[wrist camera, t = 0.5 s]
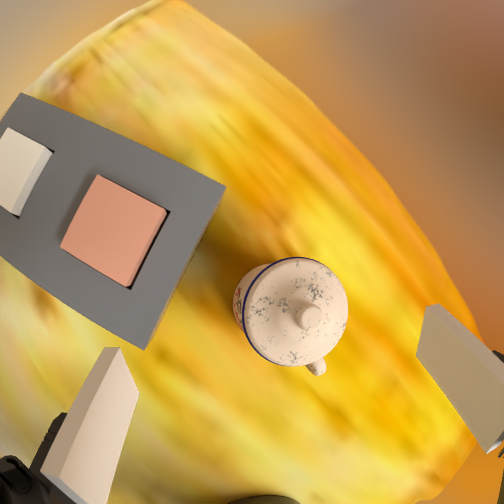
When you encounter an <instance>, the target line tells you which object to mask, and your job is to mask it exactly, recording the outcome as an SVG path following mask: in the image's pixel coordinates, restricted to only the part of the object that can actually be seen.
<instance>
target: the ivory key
mask: <svg viewBox="0 0 504 504" xmlns="http://www.w3.org/2000/svg"><path fill="white" fill-rule="evenodd" d="M52 155H53V153H52V152H50V151H49V150H48V149H47V148H46V147H45V146H43V145H41V144H39V143H37V142H35V141H33V140H31V139H29V138H27V137H26V136H24V135H22V134H20V133H18V132H16V131H14V130H12V129H10V128H7V129H6V131H5V132H4V134H3V136H2V137H1V139H0V205H1V206H2V207H3V208H5V209H6V210H7V211H9V212H10V213H12V214H15V215H18V216H21V214H22V211H23V209H24V207H25V205H26V203H27V201H28V199H29V197H30V195H31V193H32V191H33V189H34V187H35V185H36V183H37V181H38V180H39V178H40V176H41V174H42V172H43V171H44V169H45V167H46V165H47V164H48V162H49V160H50V159H51V157H52Z"/></svg>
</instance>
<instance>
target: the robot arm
mask: <svg viewBox="0 0 504 504" xmlns="http://www.w3.org/2000/svg"><path fill="white" fill-rule="evenodd" d="M416 357H417V358H418V359H419V361H420V362H421V363H422V365H423V366H424V367H425V368H426V370H427V371H428V372H429V374H430V375H431V376H432V378H433V379H434V380H435V382H436V383H437V384H438V386H439V387H440V388H441V390H442V391H443V392H444V394H445V395H446V397H447V398H448V399H449V401H450V402H451V403H452V405H453V406H454V408H455V409H456V410H457V412H458V413H459V415H460V416H461V418H462V419H463V420H464V422H465V423H466V425H467V426H468V428H469V429H470V431H471V432H472V434H473V435H474V437H475V438H476V439H477V441H478V442H479V444H480V446H481V447H482V449H483V450H484V452H485V453H486V454H487V453H489V452H490V451H492V450H493V449H495V448H496V447H497V446H499V445H500V444H501V443H502V441H503V440H504V355H502V354H501V353H499V352H497V351H495V350H494V351H492V352H491V351H490V350H489V349H488V348H487V347H486V346H485V345H484V344H483V343H482V342H481V341H480V340H479V339H478V338H477V337H476V336H475V335H474V334H472V333H471V332H470V331H469V330H468V329H467V328H466V327H465V326H464V325H463V324H462V323H460V322H459V321H458V320H457V319H456V318H455V317H454V316H453V315H451V314H450V313H449V312H448V311H447V310H446V309H445V308H443V307H442V306H441V305H440V304H435V305H431V306H427V307H426V309H425V314H424V320H423V325H422V330H421V335H420V340H419V344H418V348H417V353H416ZM139 395H140V393H139V391H138V389H137V387H136V385H135V382H134V380H133V378H132V376H131V373H130V371H129V369H128V366H127V364H126V362H125V359H124V357H123V354H122V352H121V349H120V347H104V349H103V351H102V353H101V354H100V356H99V358H98V359H97V361H96V363H95V365H94V366H93V368H92V370H91V372H90V373H89V375H88V377H87V379H86V380H85V382H84V384H83V386H82V388H81V390H80V391H79V393H78V395H77V397H76V399H75V401H74V403H73V404H72V406H71V408H70V410H69V412H68V413H63V412H62V413H61V414H60V415H59V416H58V417H57V418H56V419H54V420H53V422H52V424H51V426H50V428H49V430H48V433H46V435H45V437H44V441H42V443H41V445H40V447H39V449H38V451H37V453H36V455H35V457H34V459H33V462H32V464H31V466H30V468H29V469H28V468H27V467H26V466H25V465H24V464H23V463H22V462H21V460H19V459H18V458H17V457H16V456H12V455H9V456H4V457H3V458H1V459H0V504H107V500H108V496H109V493H110V489H111V485H112V482H113V478H114V475H115V471H116V468H117V464H118V461H119V457H120V454H121V451H122V447H123V444H124V441H125V438H126V434H127V431H128V428H129V425H130V422H131V419H132V416H133V413H134V410H135V407H136V404H137V401H138V398H139ZM503 453H504V448H503V449H502V450H501V452H500V453H499V455H498V457H501V456H502V455H503ZM503 458H504V457H503ZM229 504H300V503H298V502H297V501H295V500H293V499H290V498H286V497H282V496H255V497H249V498H244V499H241V500H237V501H234V502H231V503H229ZM497 504H504V471H503V477H502V483H501V488H500V493H499V498H498V502H497Z"/></svg>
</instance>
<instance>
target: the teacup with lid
mask: <svg viewBox="0 0 504 504" xmlns="http://www.w3.org/2000/svg"><path fill="white" fill-rule="evenodd" d="M233 312H234V316H235V319H236V321H237V323H238V325H239V326H240V328H241V329H242V330H243V332H244V333H245V335H246V337H247V339H248V341H249V343H250V344H251V346H252V347H253V348H254V350H255V351H256V352H257V353H258V354H259V355H261V356H262V357H263V358H265V359H266V360H268V361H270V362H272V363H275V364H278V365H282V366H302V365H305V366H306V367H307V368H308V370H309V371H310V372H311V373H312V374H314V375H316V376H319V375H321V374H323V373H324V372H325V371H326V363H325V361H324V358H323V356H325V355H326V354H327V353H329V352H330V351H331V350H332V349H333V348H334V346H335V345H336V344H337V342H338V341H339V339H340V338H341V336H342V334H343V331H344V329H345V326H346V322H347V316H348V303H347V297H346V293H345V290H344V288H343V286H342V284H341V282H340V280H339V279H338V278H337V276H336V275H335V274H334V273H333V272H332V271H331V270H330V269H329V268H328V267H326V266H325V265H324V264H322V263H320V262H318V261H316V260H313V259H310V258H305V257H290V258H285V259H281V260H279V261H276V262H274V263H270V264H264V265H261V266H258V267H256V268H254V269H252V270H251V271H249V272H248V273H247V274H246V275H245V276H244V277H243V278H242V279H241V281H240V282H239V284H238V286H237V288H236V290H235V293H234V297H233Z"/></svg>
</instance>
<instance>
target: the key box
mask: <svg viewBox="0 0 504 504" xmlns="http://www.w3.org/2000/svg"><path fill="white" fill-rule="evenodd" d="M7 128H10V129H12V130H14V131H16V132H18V133H20V134H22V135H24V136H26V137H27V138H29V139H31V140H33V141H35V142H37V143H39V144H41V145H43V146H45V147H46V148H47V149H48V150H49V151H50V152H52V153H53V155H52V157H51V159H50V160H49V162H48V164H47V165H46V167H45V169H44V171H43V172H42V174H41V176H40V178H39V180H38V181H37V183H36V185H35V187H34V189H33V191H32V193H31V195H30V197H29V199H28V201H27V203H26V205H25V207H24V209H23V211H22V214H21V216H18V215H15V214H12V213H10V212H9V211H7V210H6V209H5V208H3V207H2V206H1V205H0V256H1V257H3V258H4V259H5V260H6V261H7V262H9V263H10V264H11V265H12V266H14V267H15V268H16V269H17V270H19V271H20V272H21V273H23V274H24V275H25V276H27V277H28V278H29V279H31V280H32V281H33V282H35V283H36V284H37V285H39V286H40V287H42V288H43V289H44V290H46V291H47V292H49V293H50V294H51V295H53V296H54V297H56V298H57V299H59V300H60V301H62V302H63V303H65V304H66V305H68V306H69V307H71V308H72V309H74V310H75V311H77V312H78V313H80V314H82V315H83V316H85V317H86V318H88V319H90V320H91V321H93V322H95V323H96V324H98V325H100V326H101V327H103V328H105V329H106V330H108V331H110V332H111V333H113V334H115V335H117V336H118V337H120V338H122V339H124V340H126V341H127V342H129V343H131V344H133V345H135V346H137V347H139V348H140V349H142V350H145V348H146V347H147V345H148V344H149V342H150V341H151V339H152V338H153V337H154V334H155V332H156V330H157V328H158V326H159V324H160V322H161V319H162V317H163V315H164V313H165V311H166V309H167V307H168V305H169V303H170V301H171V299H172V297H173V294H174V292H175V290H176V288H177V286H178V284H179V282H180V280H181V278H182V276H183V274H184V272H185V270H186V268H187V266H188V264H189V262H190V260H191V258H192V256H193V254H194V253H195V251H196V249H197V247H198V245H199V243H200V241H201V239H202V237H203V235H204V233H205V231H206V229H207V228H208V226H209V224H210V222H211V220H212V218H213V216H214V214H215V213H216V211H217V209H218V207H219V205H220V203H221V201H222V198H223V195H224V192H225V189H226V186H224V185H222V184H220V183H218V182H216V181H214V180H212V179H210V178H208V177H206V176H205V175H203V174H201V173H199V172H197V171H195V170H193V169H191V168H189V167H187V166H185V165H183V164H181V163H178V162H176V161H174V160H172V159H170V158H168V157H166V156H164V155H162V154H160V153H158V152H156V151H154V150H152V149H150V148H147V147H145V146H143V145H141V144H139V143H137V142H135V141H133V140H130V139H128V138H126V137H124V136H122V135H120V134H117V133H115V132H113V131H111V130H109V129H106V128H104V127H102V126H100V125H97V124H95V123H93V122H91V121H88V120H86V119H84V118H81V117H79V116H77V115H74V114H72V113H70V112H67V111H65V110H63V109H60V108H58V107H55V106H53V105H51V104H48V103H46V102H43V101H41V100H38V99H36V98H33V97H31V96H28V95H26V94H23V93H20V94H19V96H18V97H17V98H16V100H15V101H14V103H13V104H12V105H11V107H10V108H9V110H8V111H7V113H6V114H5V116H4V117H3V119H2V120H1V122H0V139H1V137H2V136H3V134H4V132H5V131H6V129H7ZM97 174H98V175H100V176H102V177H104V178H106V179H108V180H110V181H111V182H113V183H115V184H117V185H119V186H121V187H123V188H125V189H127V190H129V191H131V192H133V193H134V194H136V195H138V196H140V197H142V198H144V199H146V200H148V201H150V202H152V203H154V204H156V205H158V206H159V207H161V208H163V209H165V211H166V213H167V215H168V218H167V220H166V222H165V224H164V226H163V227H162V229H161V231H160V233H159V235H158V237H157V239H156V241H155V243H154V245H153V247H152V248H151V250H150V252H149V254H148V256H147V258H146V260H145V262H144V264H143V266H142V268H141V271H140V273H139V275H138V277H137V279H136V281H135V283H134V285H132V286H126V287H125V286H123V285H122V284H120V283H118V282H116V281H115V280H113V279H111V278H109V277H108V276H106V275H104V274H103V273H101V272H99V271H98V270H96V269H94V268H93V267H91V266H89V265H88V264H86V263H84V262H83V261H81V260H80V259H78V258H76V257H75V256H73V255H72V254H70V253H69V252H67V251H65V250H64V249H62V248H61V247H60V245H61V243H62V241H63V238H64V236H65V234H66V232H67V230H68V228H69V226H70V224H71V222H72V220H73V218H74V216H75V214H76V212H77V210H78V208H79V206H80V204H81V202H82V201H83V199H84V197H85V195H86V193H87V192H88V190H89V188H90V186H91V184H92V183H93V181H94V179H95V178H96V176H97Z"/></svg>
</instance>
